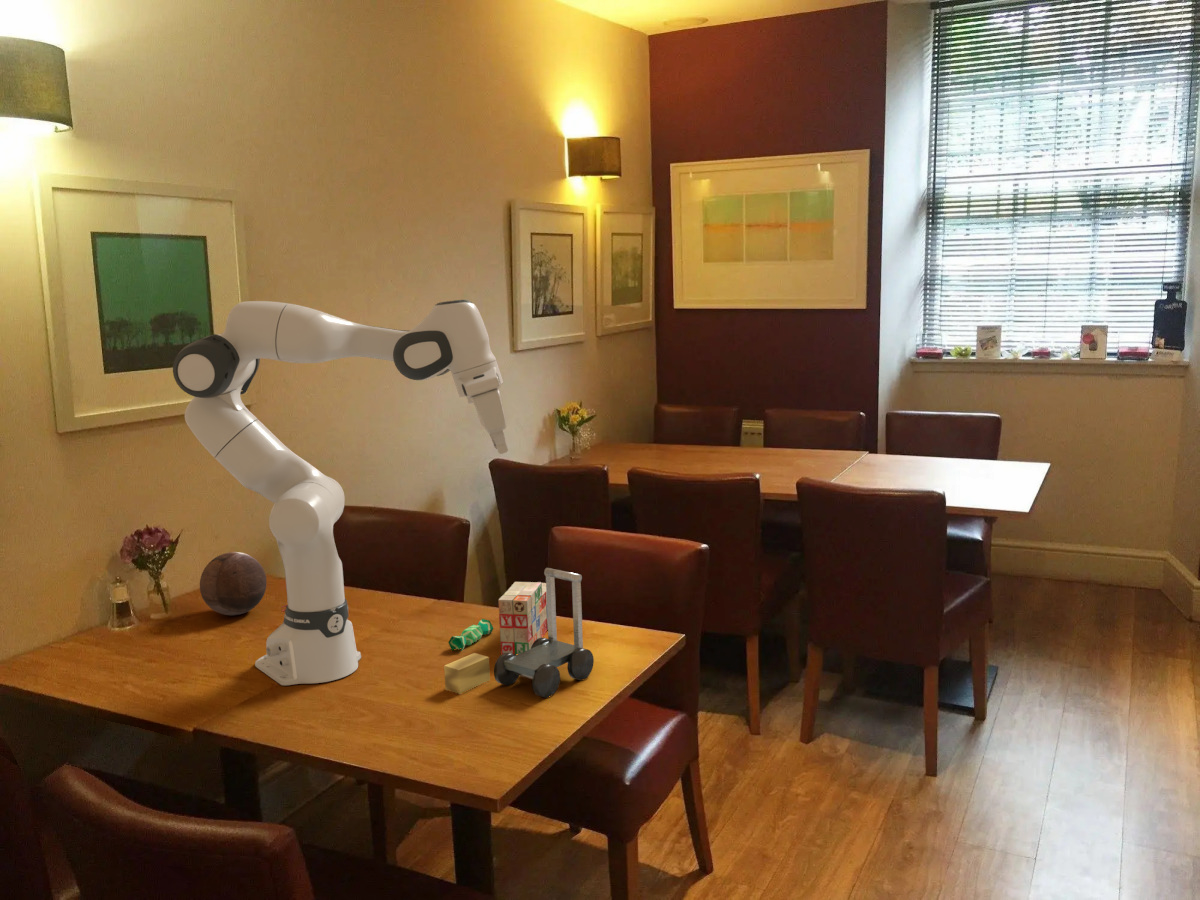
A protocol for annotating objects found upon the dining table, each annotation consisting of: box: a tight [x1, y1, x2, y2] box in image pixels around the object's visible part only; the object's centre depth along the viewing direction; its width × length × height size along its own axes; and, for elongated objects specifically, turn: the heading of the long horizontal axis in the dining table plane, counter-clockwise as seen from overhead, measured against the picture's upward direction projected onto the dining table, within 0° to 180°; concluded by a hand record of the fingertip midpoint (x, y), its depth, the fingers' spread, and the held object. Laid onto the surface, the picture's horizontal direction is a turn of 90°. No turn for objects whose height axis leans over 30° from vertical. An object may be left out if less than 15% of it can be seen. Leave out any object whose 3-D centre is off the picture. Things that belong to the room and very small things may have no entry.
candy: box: [447, 618, 495, 652], centre depth 217 cm, size 12×3×4 cm
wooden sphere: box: [199, 551, 268, 616], centre depth 240 cm, size 15×15×15 cm
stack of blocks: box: [498, 581, 548, 655], centre depth 218 cm, size 21×6×12 cm, turn 168°
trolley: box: [493, 567, 595, 699], centre depth 193 cm, size 16×12×20 cm
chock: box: [443, 652, 491, 695], centre depth 194 cm, size 4×8×5 cm, turn 141°
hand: (501, 450), depth 193 cm, fingers open, 8 cm apart
